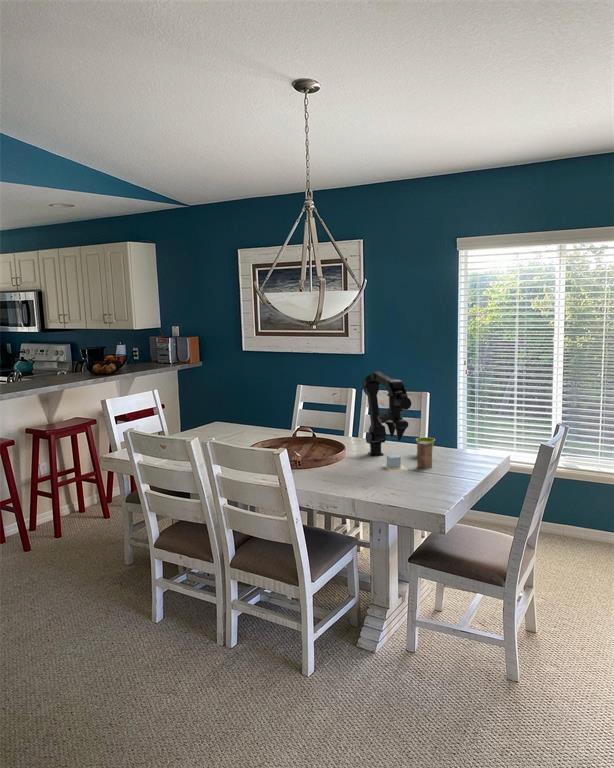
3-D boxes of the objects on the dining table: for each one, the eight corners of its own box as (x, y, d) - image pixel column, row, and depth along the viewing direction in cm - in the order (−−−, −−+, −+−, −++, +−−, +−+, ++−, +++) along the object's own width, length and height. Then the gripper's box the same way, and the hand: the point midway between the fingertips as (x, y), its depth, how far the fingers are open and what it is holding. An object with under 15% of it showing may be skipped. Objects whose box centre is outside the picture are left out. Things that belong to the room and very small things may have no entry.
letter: (381, 465, 283) (381, 464, 283) (398, 463, 285) (398, 462, 285) (390, 471, 272) (390, 471, 272) (408, 469, 274) (408, 469, 274)
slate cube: (386, 465, 281) (386, 455, 280) (396, 464, 282) (396, 454, 282) (390, 468, 276) (390, 458, 276) (400, 467, 277) (400, 457, 277)
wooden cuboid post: (417, 467, 277) (417, 442, 275) (424, 465, 280) (424, 441, 278) (425, 469, 273) (424, 444, 271) (432, 467, 276) (432, 442, 274)
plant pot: (426, 459, 290) (426, 442, 289) (412, 456, 297) (411, 439, 296) (438, 456, 296) (438, 439, 295) (424, 452, 303) (423, 436, 302)
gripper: (372, 404, 288) (373, 435, 290) (386, 411, 270) (386, 444, 272) (394, 402, 290) (394, 433, 292) (408, 409, 272) (409, 442, 274)
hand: (395, 438), depth 283 cm, fingers open, 9 cm apart
